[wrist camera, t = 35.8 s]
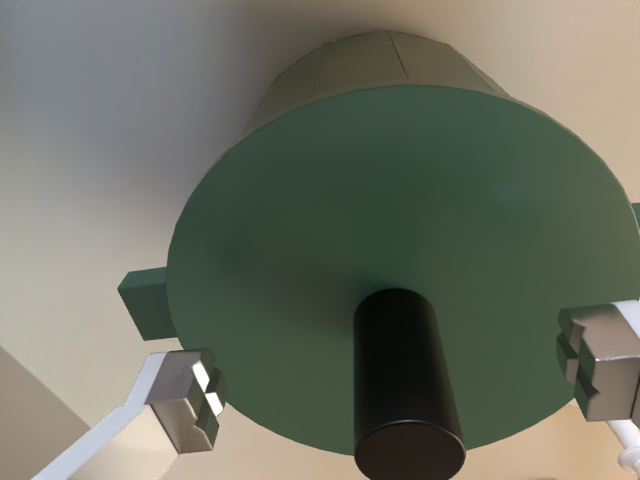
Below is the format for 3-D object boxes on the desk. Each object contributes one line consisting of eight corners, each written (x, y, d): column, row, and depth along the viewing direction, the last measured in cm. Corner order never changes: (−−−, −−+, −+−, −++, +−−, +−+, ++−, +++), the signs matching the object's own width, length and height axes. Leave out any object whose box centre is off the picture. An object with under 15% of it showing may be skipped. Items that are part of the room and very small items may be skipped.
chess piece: (649, 380, 28) (776, 564, 20) (569, 410, 30) (654, 591, 22) (619, 329, 26) (746, 509, 18) (535, 364, 28) (614, 543, 20)
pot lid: (105, 124, 13) (-48, 235, 8) (660, 20, 11) (921, 80, 6) (245, 443, 19) (209, 606, 15) (597, 416, 17) (692, 597, 13)
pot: (154, 75, 21) (27, 156, 13) (588, -13, 18) (780, 18, 10) (235, 296, 27) (184, 445, 19) (565, 256, 24) (672, 409, 16)
